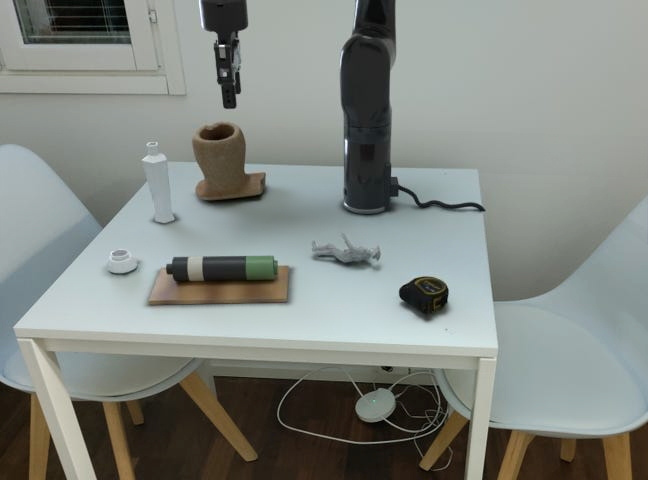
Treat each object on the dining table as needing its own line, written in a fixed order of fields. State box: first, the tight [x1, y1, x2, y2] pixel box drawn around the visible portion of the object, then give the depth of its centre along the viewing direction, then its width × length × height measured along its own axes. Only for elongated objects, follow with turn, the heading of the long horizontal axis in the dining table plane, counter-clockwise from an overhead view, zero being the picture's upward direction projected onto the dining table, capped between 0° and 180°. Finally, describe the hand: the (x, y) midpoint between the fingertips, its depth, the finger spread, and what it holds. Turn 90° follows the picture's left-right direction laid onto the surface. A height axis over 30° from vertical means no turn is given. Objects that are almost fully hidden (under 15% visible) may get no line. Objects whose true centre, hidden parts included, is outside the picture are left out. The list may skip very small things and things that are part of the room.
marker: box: [165, 255, 279, 281], centre depth 116 cm, size 18×4×4 cm, turn 92°
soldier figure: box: [311, 232, 382, 264], centre depth 123 cm, size 8×5×12 cm
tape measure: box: [398, 275, 450, 316], centre depth 111 cm, size 7×7×4 cm
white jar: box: [106, 248, 138, 274], centre depth 121 cm, size 5×3×5 cm
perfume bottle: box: [141, 141, 176, 224], centre depth 134 cm, size 5×4×15 cm
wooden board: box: [148, 265, 290, 306], centre depth 117 cm, size 22×11×1 cm, turn 92°
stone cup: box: [191, 121, 267, 201], centre depth 143 cm, size 15×12×15 cm
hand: (232, 100), depth 121 cm, fingers open, 8 cm apart
